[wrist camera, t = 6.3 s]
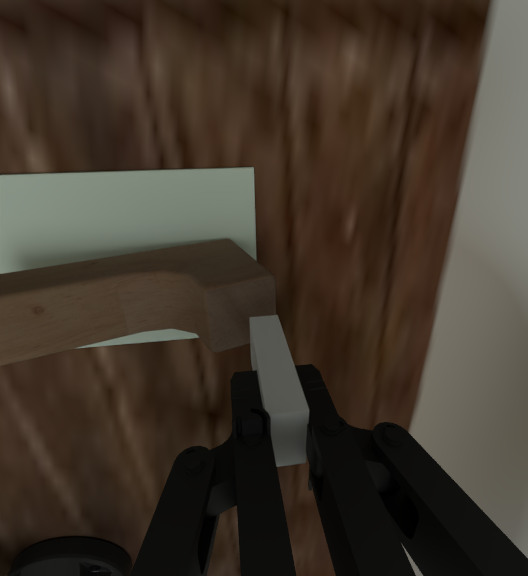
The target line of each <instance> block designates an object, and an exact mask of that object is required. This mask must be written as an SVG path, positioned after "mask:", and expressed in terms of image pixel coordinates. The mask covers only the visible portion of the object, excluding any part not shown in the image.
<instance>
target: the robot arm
mask: <svg viewBox="0 0 528 576" xmlns="http://www.w3.org/2000/svg"><path fill="white" fill-rule="evenodd" d="M249 321H250V347H251V363H252V369H253V371H244V372H235V373H234V375H233V377H232V379H231V400H232V419H233V420H232V429H233V430H232V433H231V436H230V437H229V438H228V440H227V441H226V442H224V443H223V444H222V445H220V446H218V447H216V448H213V449H211V450H209V449H207V448H206V447H202V446H192V447H190V448H188V449H185V450H184V451H183V452H181V453H180V454H179V455H178V457H177V458H176V460H175V461H174V464H173V466H172V469H171V472H170V474H169V477H168V479H167V482H166V484H165V487H164V490H163V492H162V495H161V497H160V500H159V502H158V505H157V508H156V510H155V513H154V515H153V518H152V520H151V523H150V526H149V528H148V531H147V533H146V536H145V539H144V541H143V544H142V546H141V549H140V551H139V554H138V557H137V559H136V562H135V564H134V567H133V569H132V572H131V568H132V564H131V560H130V558H129V556H128V555H127V554H126V553H125V552H124V551H123V550H122V549H120V548H118V547H117V546H115V545H113V544H110V543H108V542H104V541H101V540H96V539H90V538H78V537H72V538H59V539H53V540H49V541H45V542H41V543H39V544H36V545H34V546H31V547H29V548H28V549H26V550H24V551H23V552H22V553H20V554H19V555H18V556H17V558H16V559H15V560H14V562H13V565H12V567H11V569H10V571H9V573H8V575H7V576H207V571H208V567H209V562H210V558H211V553H212V548H213V544H214V539H215V534H216V530H217V525H218V520H219V516H220V513H222V512H224V511H226V510H228V509H230V508H232V507H234V506H235V505H237V513H238V531H239V549H240V567H241V576H296V571H295V566H294V560H293V555H292V549H291V544H290V538H289V533H288V527H287V522H286V516H285V511H284V505H283V500H282V494H281V489H280V483H279V478H278V472H277V467H279V466H286V465H294V464H301V463H306V455H307V458H308V461H309V465H310V468H309V482H308V487H309V490H312V488H313V492H314V496H315V499H316V503H317V507H318V511H319V514H320V518H321V522H322V526H323V529H324V533H325V537H326V541H327V544H328V548H329V552H330V556H331V559H332V563H333V567H334V571H335V574H336V576H416V575H415V573H414V571H413V569H412V566H411V564H410V562H409V560H408V557H407V555H406V553H405V551H404V548H405V549H406V551H407V552H408V553H409V555H410V556H411V558H412V559H413V561H414V562H415V564H416V565H417V566H418V568H419V570H420V571H421V573H422V574H423V576H528V558H526V556H525V555H524V554H523V553H522V552H521V551H520V550H519V549H518V548H517V547H516V546H515V545H514V544H513V543H512V542H511V540H510V539H509V538H508V537H507V536H506V535H505V534H504V533H503V532H502V531H501V530H500V529H499V528H498V527H497V526H496V525H495V524H494V523H493V521H492V520H491V519H490V518H489V517H488V516H487V515H486V514H485V513H484V512H483V511H482V510H481V509H480V508H479V507H478V506H477V505H476V503H475V502H474V501H473V500H472V499H471V498H470V497H469V496H468V495H467V494H466V493H465V492H464V491H463V490H462V489H461V488H460V487H459V486H458V484H457V483H456V482H455V481H454V480H453V479H451V477H450V476H449V475H448V474H447V473H446V472H445V471H444V470H443V469H442V468H441V466H440V465H439V464H437V462H436V461H435V460H434V459H433V458H432V457H431V456H430V455H429V454H428V453H427V452H426V451H425V450H424V449H423V448H422V446H421V445H420V444H419V443H418V442H417V441H416V440H415V439H414V438H413V437H412V436H411V435H410V434H409V433H408V432H407V431H406V430H405V429H404V428H402V427H401V426H399V425H397V424H394V423H389V422H384V423H379V424H378V425H376V426H375V427H374V429H373V431H372V430H366V429H360V428H356V427H353V426H351V425H348V424H347V423H346V421H345V420H344V419H343V418H341V417H340V416H339V415H338V413H337V411H336V409H335V406H334V404H333V402H332V399H331V397H330V395H329V392H328V390H327V388H326V385H325V383H324V381H323V379H322V376H321V374H320V372H319V370H318V369H316V368H315V367H314V366H313V365H312V364H308V365H298V366H294V363H293V360H292V357H291V354H290V351H289V348H288V345H287V342H286V339H285V336H284V333H283V330H282V327H281V324H280V321H279V318H278V315H272V316H259V317H249ZM401 543H402V544H401ZM402 545H403V546H404V548H403V547H402ZM130 573H131V575H130Z"/></svg>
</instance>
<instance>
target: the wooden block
mask: <svg viewBox="0 0 528 576" xmlns="http://www.w3.org/2000/svg"><path fill="white" fill-rule="evenodd" d="M272 315H276V281H275V277H274V275H273V274H272V273H270V272H269V271H268V270H267V269H266V268H264V267H263V266H262V265H261V264H260V263H258V262H257V261H256V260H255V259H254V258H252V257H251V256H250V255H249V254H248V253H246V252H245V251H244V250H243V249H242V248H240V247H239V246H238V245H237V244H236V243H234V242H233V241H232V240H231V239H222V240H215V241H209V242H202V243H196V244H189V245H182V246H176V247H169V248H163V249H157V250H150V251H144V252H138V253H132V254H125V255H119V256H113V257H106V258H100V259H93V260H87V261H81V262H74V263H68V264H61V265H55V266H48V267H42V268H35V269H29V270H23V271H16V272H10V273H3V274H0V366H3V365H7V364H11V363H15V362H19V361H23V360H28V359H32V358H36V357H40V356H44V355H49V354H53V353H57V352H61V351H65V350H70V349H74V348H78V347H82V346H86V345H91V344H95V343H99V342H103V341H107V340H112V339H116V338H120V337H124V336H128V335H132V334H137V333H141V332H147V331H156V330H165V329H176V330H181V331H185V332H190V333H195V334H197V335H198V337H199V338H200V339H201V340H202V341H203V342H204V343H205V345H206V346H207V347H208V348H209V349H210V350H211V351H212V352H221V351H224V350H228V349H232V348H235V347H239V346H242V345H246V344H249V343H250V321H249V317H259V316H272Z"/></svg>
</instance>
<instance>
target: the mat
mask: <svg viewBox="0 0 528 576" xmlns="http://www.w3.org/2000/svg"><path fill="white" fill-rule="evenodd" d="M222 239H231V240H232V241H233V242H234V243H236V244H237V245H238V246H239V247H240V248H242V249H243V250H244V251H245V252H246V253H248V254H249V255H250V256H251V257H252V258H254V259H255V260H256V226H255V191H254V167H235V168H202V169H169V170H136V171H103V172H69V173H36V174H3V175H0V274H3V273H10V272H16V271H23V270H29V269H35V268H42V267H48V266H55V265H61V264H68V263H74V262H81V261H87V260H93V259H100V258H106V257H113V256H119V255H125V254H132V253H138V252H144V251H150V250H157V249H163V248H169V247H176V246H182V245H189V244H196V243H202V242H209V241H215V240H222ZM189 338H199V337H198V335H197V334H195V333H190V332H185V331H181V330H176V329H165V330H156V331H147V332H141V333H137V334H132V335H128V336H124V337H120V338H116V339H112V340H107V341H103V342H99V343H95V344H91V345H86V346H82V347H78V348H85V347H97V346H108V345H120V344H131V343H143V342H154V341H166V340H177V339H189Z"/></svg>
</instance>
